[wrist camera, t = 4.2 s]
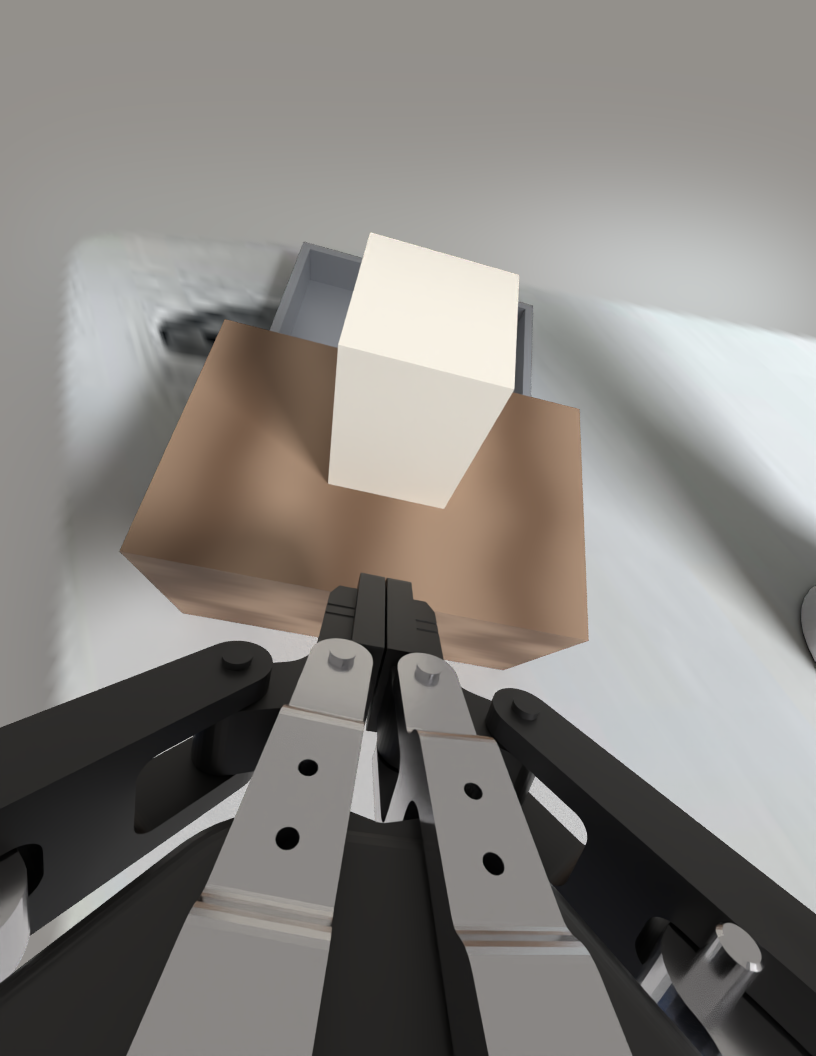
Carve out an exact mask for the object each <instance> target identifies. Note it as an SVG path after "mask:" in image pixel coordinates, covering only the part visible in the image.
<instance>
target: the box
mask: <svg viewBox="0 0 816 1056" xmlns="http://www.w3.org/2000/svg"><path fill="white" fill-rule="evenodd" d="M362 259H363V258H360V257H357V256H353V255H350V254H346V253H342V252H339V251H335V250H332V249H328V248H325V247H321V246H317V245H314V244H310V243H307V242H303V245H302V248H301V250H300V253H299V255H298V258H297V261H296V263H295V266H294V268H293V271H292V274H291V276H290V279H289V281H288V284H287V287H286V289H285V292H284V294H283V297H282V300H281V302H280V305H279V307H278V310H277V313H276V315H275V318H274V320H273V323H272V326H271V328H270V331H273V332H277V333H281V334H285V335H289V336H293V337H297V338H301V339H305V340H309V341H313V342H317V343H321V344H324V345H328V346H332V347H336V348H338V343H339V340H340V336H341V333H342V329H343V326H344V322H345V319H346V315H347V312H348V308H349V305H350V301H351V298H352V294H353V291H354V287H355V284H356V280H357V277H358V273H359V270H360V266H361V263H362ZM532 321H533V306H532V305H529V304H525V303H522V302H518V315H517V339H516V362H515V386H514V391H513V392H514V393H518V394H521V395H525V396H529V397H531V368H532Z"/></svg>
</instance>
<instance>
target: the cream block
mask: <svg viewBox="0 0 816 1056" xmlns="http://www.w3.org/2000/svg"><path fill="white" fill-rule="evenodd" d="M518 292H519V275H518V274H515V273H511V272H507V271H504V270H501V269H497V268H494V267H490V266H487V265H483V264H479V263H476V262H473V261H469V260H466V259H462V258H459V257H455V256H452V255H448V254H445V253H441V252H437V251H434V250H431V249H427V248H424V247H420V246H417V245H413V244H410V243H406V242H403V241H399V240H396V239H392V238H389V237H385V236H382V235H378V234H375V233H371V232H370V234H369V238H368V241H367V245H366V249H365V252H364V256H363V259H362V263H361V266H360V270H359V273H358V277H357V280H356V284H355V287H354V291H353V294H352V298H351V301H350V305H349V308H348V312H347V315H346V319H345V322H344V326H343V329H342V333H341V336H340V340H339V343H338V354H337V367H336V381H335V395H334V408H333V422H332V436H331V449H330V463H329V477H328V484H332V485H336V486H341V487H345V488H350V489H354V490H359V491H364V492H368V493H373V494H377V495H382V496H387V497H391V498H396V499H400V500H405V501H409V502H414V503H419V504H423V505H428V506H432V507H437V508H442V509H444V508H445V506H446V505H447V503H448V501H449V499H450V498H451V496H452V494H453V493H454V491H455V489H456V488H457V486H458V484H459V483H460V481H461V479H462V477H463V476H464V474H465V472H466V471H467V469H468V467H469V466H470V464H471V462H472V460H473V459H474V457H475V455H476V454H477V452H478V450H479V449H480V447H481V445H482V443H483V442H484V440H485V438H486V437H487V435H488V433H489V432H490V430H491V428H492V426H493V425H494V423H495V421H496V420H497V418H498V416H499V415H500V413H501V411H502V410H503V408H504V406H505V404H506V403H507V401H508V399H509V398H510V396H511V394H512V393H513V391H514V386H515V362H516V339H517V315H518Z"/></svg>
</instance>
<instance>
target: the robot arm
mask: <svg viewBox="0 0 816 1056" xmlns="http://www.w3.org/2000/svg"><path fill="white" fill-rule="evenodd" d="M801 621H802V628H803V633H804V636H805V639H806V642H807V645H808V648H809V650H810V652H811V654H812V656H813V658H814V660H815V662H816V586H814V587H813V588H811V589H810V590H809V592H808V593H807V595H806V596H805V598H804V601H803V605H802V611H801ZM366 718H367V724H366V731H372V732H377V743H376V747H375V751H374V754H373V758H372V771H373V792H374V812H375V821H373V820H371V819H368V818H366V817H363V816H360V815H358V814H355V813H353V812H350V809H351V803H352V797H353V791H354V785H355V779H356V773H357V767H358V761H359V755H360V749H361V743H362V737H363V731H364V725H365V722H366ZM191 736H193V737H192V738H190V739H188V738H189V737H191ZM186 739H188V740H186ZM184 740H186V741H184ZM182 741H184V742H182ZM180 742H182V743H181V744H179V745H177V746H175V745H176V744H178V743H180ZM173 746H175V747H173ZM171 747H173V748H171ZM169 748H171V749H169ZM167 749H169V750H168V751H166V752H164V753H162V752H163V751H165V750H167ZM160 753H162V754H160ZM158 754H160V755H158ZM157 755H158V756H157ZM155 756H157V757H155ZM154 757H155V758H154ZM535 776H536V777H537V778H538V779H539V780H540V781H541V782H542V783H543V784H545V785H546V786H547V787H548V788H549V789H550V790H551V791H552V792H553V793H554V794H555V795H556V796H558V797H559V798H560V799H561V800H562V801H563V802H564V803H565V804H566V805H567V806H568V807H569V808H571V809H572V810H573V811H574V812H575V813H576V814H577V815H578V816H579V818H580V819H581V820H582V822H583V824H584V826H585V828H586V831H587V843H586V845H584V844H582V843H581V842H580V841H579V840H578V839H577V838H576V837H575V836H574V835H573V834H572V833H571V832H569V831H568V830H567V829H566V828H565V827H564V826H563V825H562V824H561V823H560V822H559V821H558V820H557V819H556V818H555V817H554V816H553V815H552V814H551V813H550V812H549V811H548V810H547V809H546V808H545V807H544V806H543V805H541V804H540V803H539V802H538V801H537V800H536V799H535V798H534V797H533V796H532V795H531V794H530V793H529V789H530V787H531V785H532V782H533V780H534V778H535ZM250 779H251V781H250V783H249V785H248V788H247V790H246V792H245V795H244V797H243V799H242V802H241V804H240V806H239V809H238V811H237V814H236V816H235V818H232V819H229V820H226V821H223V822H220V823H217V824H215V825H213V826H211V827H209V828H207V829H205V830H203V831H201V832H199V833H197V834H196V835H194V836H193V837H191V838H189V839H188V840H186V841H185V842H183V843H182V844H180V845H179V846H178V847H176V848H175V849H174V850H172V851H171V852H170V853H168V854H167V855H166V856H165V857H163V858H162V859H161V860H159V861H158V862H157V863H155V864H154V865H153V866H152V867H150V868H149V869H148V870H146V871H145V872H144V873H142V874H141V875H140V876H139V877H137V878H136V879H135V880H133V881H132V882H131V883H129V884H128V885H127V886H126V887H124V888H123V889H122V890H120V891H119V892H118V893H116V894H115V895H114V896H113V897H111V898H110V899H109V900H107V901H106V902H105V903H103V904H102V905H101V906H99V907H98V908H97V909H96V910H94V911H93V912H92V913H90V914H89V915H88V916H86V917H85V918H84V919H83V920H81V921H80V922H79V923H77V924H76V925H75V926H73V927H72V928H71V929H70V930H68V931H67V932H66V933H64V934H63V935H62V936H60V937H59V938H58V939H57V940H55V941H54V942H53V943H51V944H50V945H49V946H47V947H46V948H45V949H44V950H42V951H41V952H40V953H38V954H37V955H36V956H34V957H33V958H32V959H31V960H29V961H28V962H27V963H25V964H24V965H23V966H21V967H20V968H19V969H18V970H16V971H15V972H14V970H15V969H16V966H17V965H18V964H19V962H20V960H21V958H22V956H23V954H24V952H25V950H26V947H27V944H28V941H29V936H30V935H32V934H33V933H35V932H36V931H37V930H39V929H40V928H42V927H43V926H45V925H46V924H47V923H49V922H50V921H52V920H53V919H55V918H56V917H57V916H59V915H60V914H62V913H63V912H65V911H66V910H67V909H69V908H70V907H72V906H73V905H75V904H76V903H77V902H79V901H80V900H82V899H83V898H85V897H86V896H87V895H89V894H90V893H92V892H93V891H95V890H96V889H97V888H99V887H100V886H102V885H103V884H105V883H106V882H107V881H109V880H110V879H112V878H113V877H115V876H116V875H117V874H119V873H120V872H122V871H123V870H124V869H126V868H127V867H129V866H130V865H132V864H133V863H134V862H136V861H137V860H139V859H140V858H142V857H143V856H144V855H146V854H147V853H149V852H150V851H152V850H153V849H154V848H156V847H157V846H159V845H160V844H162V843H163V842H164V841H166V840H167V839H169V838H170V837H172V836H173V835H174V834H176V833H177V832H179V831H180V830H182V829H183V828H184V827H186V826H187V825H189V824H190V823H192V822H193V821H194V820H196V819H197V818H199V817H200V816H202V815H203V814H204V813H206V812H207V811H209V810H210V809H212V808H213V807H214V806H216V805H217V804H219V803H220V802H222V801H223V800H224V799H226V798H227V797H229V796H230V795H232V794H233V793H234V792H236V791H237V790H239V789H240V788H242V787H243V786H244V785H245V784H247V783H248V781H249V780H250ZM13 972H14V973H13ZM0 1056H816V914H815V913H814V912H812V911H811V910H810V909H809V908H807V907H806V906H805V905H803V904H802V903H801V902H800V901H798V900H797V899H796V898H794V897H793V896H792V895H791V894H789V893H788V892H787V891H786V890H784V889H783V888H782V887H780V886H779V885H778V884H777V883H775V882H774V881H773V880H771V879H770V878H769V877H768V876H766V875H765V874H764V873H762V872H761V871H760V870H759V869H757V868H756V867H755V866H753V865H752V864H751V863H750V862H748V861H747V860H746V859H744V858H743V857H742V856H741V855H739V854H738V853H737V852H735V851H734V850H733V849H732V848H730V847H729V846H728V845H726V844H725V843H724V842H723V841H721V840H720V839H719V838H718V837H716V836H715V835H714V834H712V833H711V832H710V831H709V830H707V829H706V828H705V827H703V826H702V825H701V824H700V823H698V822H697V821H696V820H694V819H693V818H692V817H691V816H689V815H688V814H687V813H685V812H684V811H683V810H682V809H680V808H679V807H678V806H676V805H675V804H674V803H673V802H671V801H670V800H669V799H667V798H666V797H665V796H664V795H662V794H661V793H660V792H658V791H657V790H656V789H655V788H653V787H652V786H651V785H650V784H648V783H647V782H646V781H644V780H643V779H642V778H641V777H639V776H638V775H637V774H635V773H634V772H633V771H632V770H630V769H629V768H628V767H626V766H625V765H624V764H623V763H621V762H620V761H619V760H617V759H616V758H615V757H614V756H612V755H611V754H610V753H608V752H607V751H606V750H605V749H603V748H602V747H601V746H599V745H598V744H597V743H596V742H594V741H593V740H592V739H591V738H589V737H588V736H587V735H585V734H584V733H583V732H582V731H580V730H579V729H578V728H576V727H575V726H574V725H573V724H571V723H570V722H569V721H567V720H566V719H565V718H564V717H562V716H561V715H560V714H558V713H557V712H556V711H555V710H553V709H552V708H551V707H549V706H548V705H547V704H546V703H544V702H543V701H542V700H540V699H539V698H537V697H536V696H534V695H532V694H530V693H528V692H526V691H523V690H519V689H514V688H505V689H501V690H499V691H497V692H496V693H495V694H494V696H493V699H492V701H490V700H488V699H485V698H483V697H480V696H478V695H475V694H473V693H471V692H469V691H467V690H465V689H463V688H462V687H461V686H460V683H459V680H458V677H457V674H456V672H455V671H454V669H453V668H452V667H451V666H450V665H449V664H448V663H447V662H445V661H444V659H443V653H442V648H441V643H440V637H439V634H438V627H437V621H436V616H435V612H434V611H433V610H432V608H431V607H430V606H429V605H428V604H427V602H425V601H419V600H414V599H413V591H412V583H411V582H408V581H403V580H398V579H392V578H386V581H385V577H382V576H377V575H372V574H366V573H360V577H359V581H358V586H357V589H356V588H351V587H345V586H340V585H339V586H338V587H337V588H335V589H334V590H333V591H331V592H330V594H329V598H328V602H327V606H326V610H325V614H324V618H323V622H322V626H321V630H320V634H319V638H318V642H317V644H315V645H314V646H313V647H312V649H311V651H310V654H309V655H308V656H306V657H304V658H302V659H299V660H295V661H291V662H278V663H273V660H272V657H271V655H270V654H269V652H268V651H267V650H266V649H264V648H263V647H261V646H259V645H257V644H254V643H250V642H245V641H228V642H223V643H220V644H216V645H214V646H211V647H209V648H206V649H203V650H201V651H198V652H196V653H193V654H190V655H188V656H185V657H183V658H180V659H177V660H175V661H172V662H170V663H167V664H164V665H162V666H159V667H157V668H154V669H151V670H149V671H146V672H144V673H141V674H138V675H136V676H133V677H131V678H128V679H125V680H123V681H120V682H118V683H115V684H112V685H110V686H107V687H105V688H102V689H99V690H97V691H94V692H92V693H89V694H86V695H84V696H81V697H79V698H76V699H73V700H71V701H68V702H66V703H63V704H60V705H58V706H55V707H53V708H50V709H47V710H45V711H42V712H40V713H37V714H34V715H32V716H30V717H27V718H24V719H22V720H19V721H16V722H14V723H11V724H9V725H6V726H3V727H1V728H0Z"/></svg>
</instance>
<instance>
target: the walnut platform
mask: <svg viewBox="0 0 816 1056" xmlns="http://www.w3.org/2000/svg"><path fill="white" fill-rule="evenodd" d="M337 354H338V348H336V347H332V346H328V345H324V344H321V343H317V342H313V341H309V340H305V339H301V338H297V337H293V336H289V335H285V334H281V333H277V332H273V331H269V330H265V329H261V328H257V327H254V326H250V325H246V324H242V323H238V322H234V321H230V320H226V319H225V320H224V322H223V324H222V327H221V329H220V331H219V333H218V335H217V338H216V340H215V342H214V344H213V346H212V349H211V351H210V353H209V355H208V357H207V360H206V362H205V364H204V366H203V368H202V371H201V373H200V375H199V377H198V379H197V382H196V384H195V386H194V388H193V390H192V393H191V395H190V397H189V399H188V401H187V404H186V406H185V408H184V410H183V412H182V415H181V417H180V419H179V421H178V423H177V426H176V428H175V430H174V432H173V434H172V437H171V439H170V441H169V443H168V445H167V448H166V450H165V452H164V454H163V457H162V459H161V461H160V463H159V465H158V468H157V470H156V472H155V474H154V476H153V479H152V481H151V483H150V485H149V487H148V490H147V492H146V494H145V496H144V498H143V501H142V503H141V505H140V507H139V509H138V512H137V514H136V516H135V518H134V520H133V523H132V525H131V527H130V529H129V531H128V534H127V536H126V538H125V540H124V542H123V545H122V547H121V549H120V552H121V553H122V554H123V555H124V556H125V557H126V558H127V559H128V560H129V561H130V562H131V563H132V564H133V565H134V566H135V567H136V568H137V569H138V570H139V571H140V572H141V573H142V574H143V575H144V576H145V577H146V578H147V579H148V580H149V581H150V582H151V583H152V584H153V585H154V586H155V587H156V588H157V589H159V590H160V591H161V592H162V593H163V594H164V595H165V596H166V597H167V598H168V599H169V600H170V601H171V602H172V603H173V604H174V605H175V606H176V607H177V608H178V609H179V610H180V611H181V612H182V613H185V614H191V615H196V616H202V617H208V618H213V619H219V620H224V621H230V622H236V623H241V624H247V625H253V626H258V627H264V628H269V629H275V630H281V631H286V632H292V633H298V634H303V635H309V636H314V637H319V634H320V630H321V626H322V622H323V618H324V614H325V610H326V606H327V602H328V598H329V594H330V592H331V591H333V590H334V589H335V588H337V587H338V586H339V585H340V586H345V587H351V588H356V589H357V586H358V581H359V577H360V573H366V574H372V575H377V576H382V577H385V581H386V578H392V579H398V580H403V581H408V582H411V583H412V591H413V599H414V600H419V601H425V602H427V604H428V605H429V606H430V607H431V608H432V610H433V611H434V612H435V616H436V621H437V627H438V634H439V637H440V643H441V648H442V653H443V659H444V660H449V661H455V662H460V663H466V664H472V665H477V666H483V667H489V668H494V669H500V670H505V669H508V668H511V667H514V666H517V665H519V664H522V663H525V662H528V661H531V660H534V659H537V658H540V657H543V656H545V655H548V654H551V653H554V652H557V651H560V650H563V649H566V648H569V647H571V646H574V645H577V644H580V643H583V642H586V641H589V639H588V614H587V588H586V563H585V538H584V513H583V488H582V462H581V437H580V412H579V409H577V408H573V407H569V406H565V405H561V404H557V403H553V402H549V401H545V400H541V399H537V398H533V397H529V396H525V395H521V394H518V393H514V392H513V393H512V394H511V396H510V398H509V399H508V401H507V403H506V404H505V406H504V408H503V410H502V411H501V413H500V415H499V416H498V418H497V420H496V421H495V423H494V425H493V426H492V428H491V430H490V432H489V433H488V435H487V437H486V438H485V440H484V442H483V443H482V445H481V447H480V449H479V450H478V452H477V454H476V455H475V457H474V459H473V460H472V462H471V464H470V466H469V467H468V469H467V471H466V472H465V474H464V476H463V477H462V479H461V481H460V483H459V484H458V486H457V488H456V489H455V491H454V493H453V494H452V496H451V498H450V499H449V501H448V503H447V505H446V506H445V508H444V509H442V508H437V507H432V506H428V505H423V504H419V503H414V502H409V501H405V500H400V499H396V498H391V497H387V496H382V495H377V494H373V493H368V492H364V491H359V490H354V489H350V488H345V487H341V486H336V485H332V484H328V477H329V463H330V449H331V436H332V422H333V408H334V395H335V381H336V367H337Z"/></svg>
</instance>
